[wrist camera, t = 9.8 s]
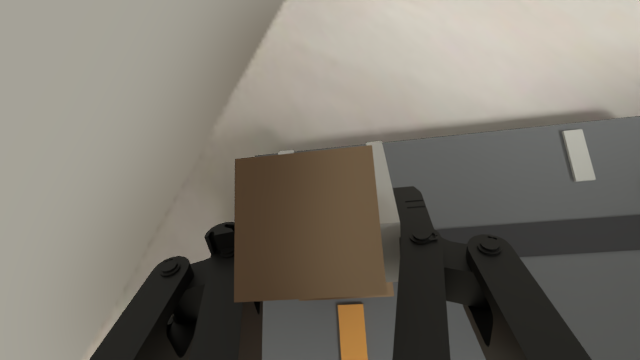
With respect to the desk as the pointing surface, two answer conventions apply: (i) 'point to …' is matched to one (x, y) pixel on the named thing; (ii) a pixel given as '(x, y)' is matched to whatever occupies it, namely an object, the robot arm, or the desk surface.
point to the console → (505, 237)
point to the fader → (308, 227)
